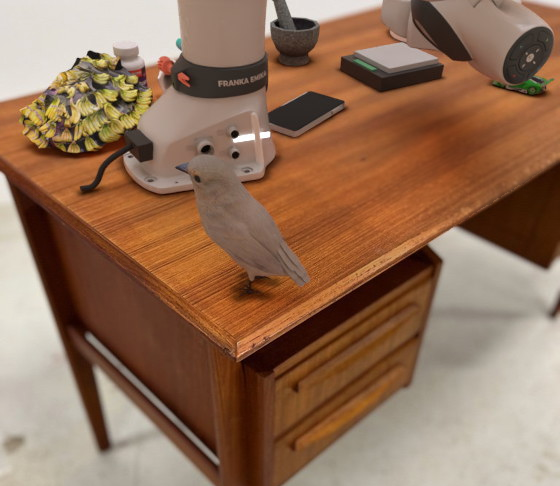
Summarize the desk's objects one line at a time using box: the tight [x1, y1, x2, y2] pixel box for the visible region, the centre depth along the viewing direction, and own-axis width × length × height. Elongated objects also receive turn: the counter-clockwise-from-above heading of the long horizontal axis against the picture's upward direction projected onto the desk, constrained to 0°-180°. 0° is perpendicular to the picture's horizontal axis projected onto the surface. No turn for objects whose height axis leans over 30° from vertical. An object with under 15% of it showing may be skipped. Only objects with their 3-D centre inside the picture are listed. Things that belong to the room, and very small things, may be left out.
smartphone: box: [268, 90, 346, 138], centre depth 96 cm, size 8×1×15 cm
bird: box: [175, 154, 311, 298], centre depth 57 cm, size 5×14×15 cm, turn 72°
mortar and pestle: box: [269, 0, 321, 67], centre depth 113 cm, size 11×9×12 cm
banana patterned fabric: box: [18, 49, 154, 154], centre depth 86 cm, size 20×16×7 cm
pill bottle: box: [112, 40, 149, 87], centre depth 95 cm, size 5×5×10 cm
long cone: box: [156, 56, 177, 95], centre depth 106 cm, size 6×6×19 cm
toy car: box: [491, 74, 555, 96], centre depth 106 cm, size 10×5×2 cm, turn 52°
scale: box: [339, 41, 445, 93], centre depth 111 cm, size 15×13×4 cm
